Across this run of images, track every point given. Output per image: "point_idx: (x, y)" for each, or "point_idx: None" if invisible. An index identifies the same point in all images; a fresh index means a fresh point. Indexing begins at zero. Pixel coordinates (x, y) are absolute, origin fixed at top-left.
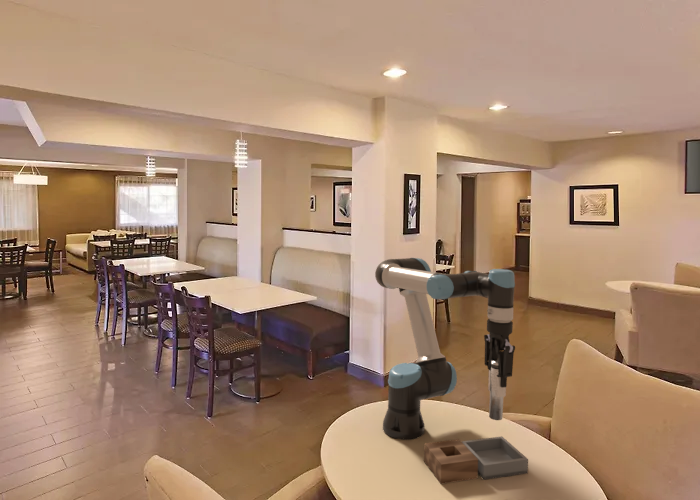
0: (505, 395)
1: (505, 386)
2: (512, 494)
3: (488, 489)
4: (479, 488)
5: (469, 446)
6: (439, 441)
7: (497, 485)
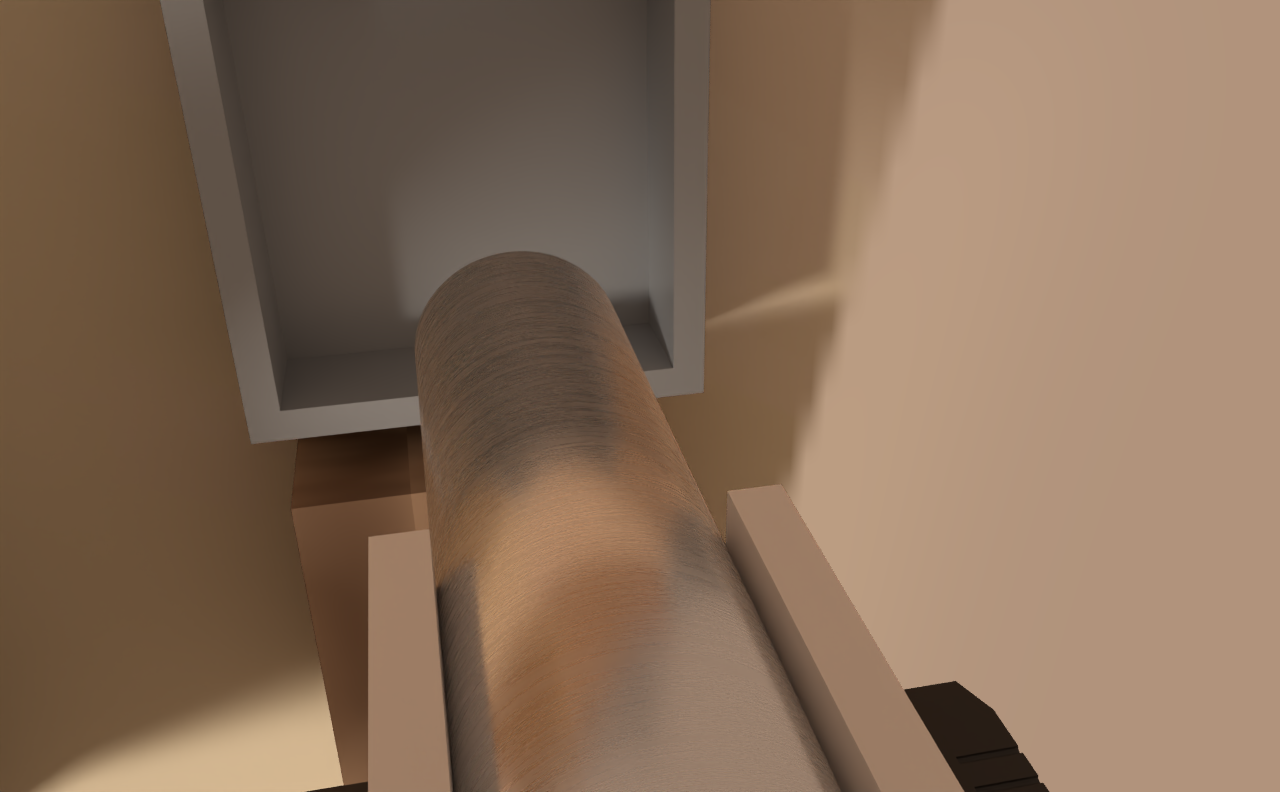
0: (786, 498)
1: (975, 718)
2: (881, 190)
3: (777, 341)
4: (749, 399)
5: (275, 346)
6: (325, 684)
7: (752, 251)
